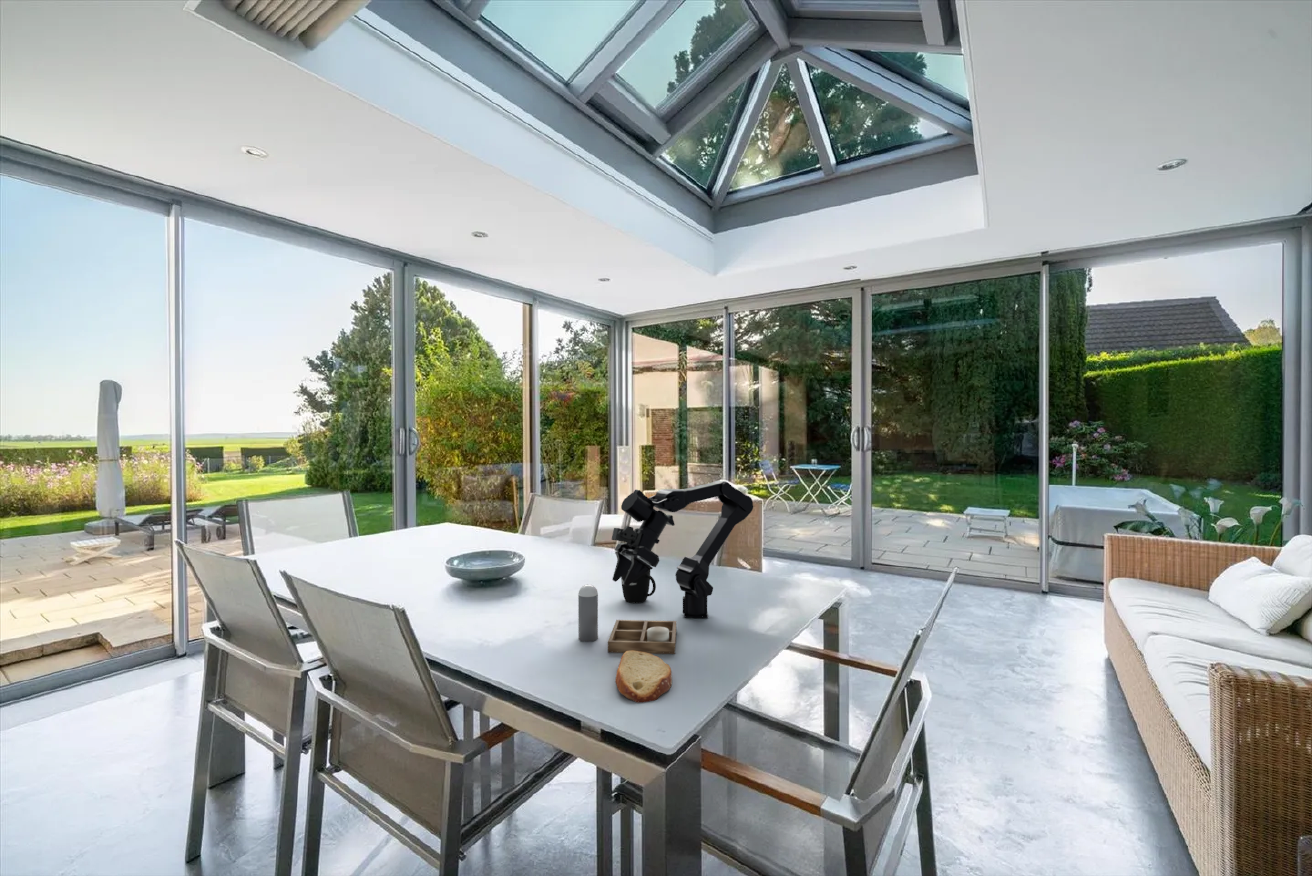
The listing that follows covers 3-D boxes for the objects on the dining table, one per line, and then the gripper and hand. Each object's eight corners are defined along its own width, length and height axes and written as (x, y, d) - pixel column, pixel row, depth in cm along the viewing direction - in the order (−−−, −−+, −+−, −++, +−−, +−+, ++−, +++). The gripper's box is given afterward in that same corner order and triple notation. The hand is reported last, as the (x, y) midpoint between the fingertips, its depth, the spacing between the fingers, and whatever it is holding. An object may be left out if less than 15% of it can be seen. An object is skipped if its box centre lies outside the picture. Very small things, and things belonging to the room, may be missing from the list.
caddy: (676, 630, 147) (676, 615, 147) (674, 654, 131) (674, 636, 131) (616, 629, 148) (616, 614, 148) (607, 652, 132) (607, 635, 132)
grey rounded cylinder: (599, 635, 143) (599, 582, 143) (596, 642, 139) (596, 587, 139) (580, 634, 144) (580, 582, 144) (576, 641, 139) (576, 587, 139)
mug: (614, 601, 173) (614, 568, 173) (633, 594, 180) (633, 562, 180) (645, 608, 165) (645, 573, 165) (664, 601, 173) (664, 568, 172)
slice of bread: (634, 656, 131) (634, 639, 131) (698, 677, 120) (699, 659, 120) (577, 682, 117) (577, 664, 117) (643, 708, 106) (643, 688, 106)
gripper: (615, 514, 158) (584, 563, 153) (638, 514, 141) (605, 570, 136) (646, 535, 161) (617, 584, 156) (673, 538, 144) (641, 593, 139)
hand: (619, 582), depth 147 cm, fingers open, 9 cm apart
